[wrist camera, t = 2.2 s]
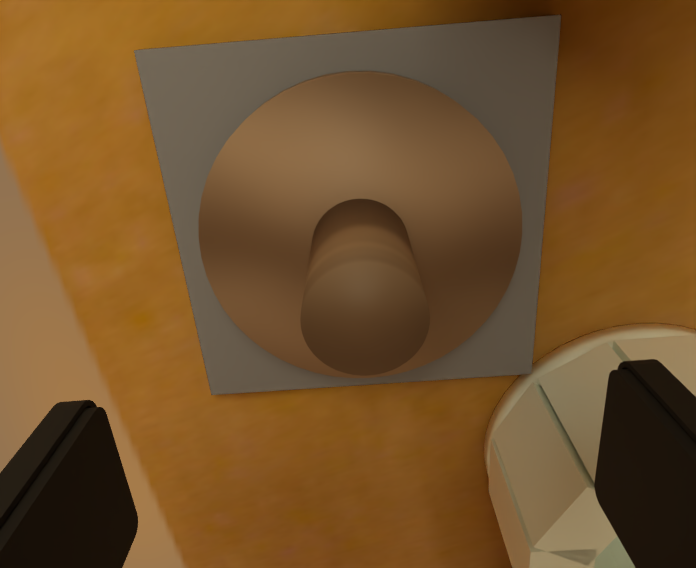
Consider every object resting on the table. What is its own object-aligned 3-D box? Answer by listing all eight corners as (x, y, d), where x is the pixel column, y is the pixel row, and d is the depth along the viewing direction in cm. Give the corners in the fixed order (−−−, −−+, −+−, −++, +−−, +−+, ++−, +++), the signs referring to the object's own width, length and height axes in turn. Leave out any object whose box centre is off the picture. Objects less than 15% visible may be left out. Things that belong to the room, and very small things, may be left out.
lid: (175, 85, 16) (92, 117, 11) (522, 56, 16) (611, 74, 10) (234, 371, 20) (195, 493, 15) (506, 352, 20) (563, 470, 15)
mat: (141, 49, 16) (133, 50, 15) (553, 14, 16) (561, 15, 15) (214, 385, 21) (211, 395, 21) (526, 364, 21) (531, 373, 20)
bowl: (488, 333, 20) (541, 447, 15) (791, 313, 20) (957, 421, 14) (479, 540, 25) (517, 684, 20) (724, 526, 25) (831, 668, 19)
